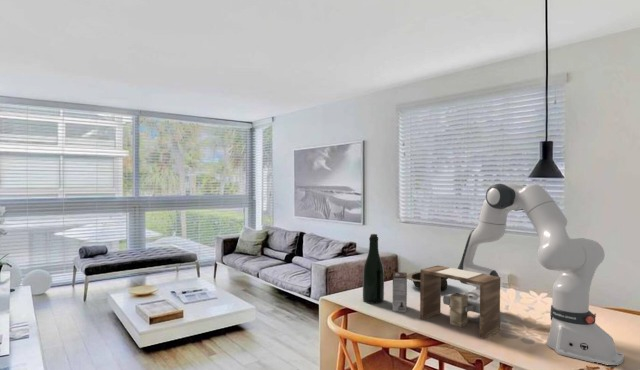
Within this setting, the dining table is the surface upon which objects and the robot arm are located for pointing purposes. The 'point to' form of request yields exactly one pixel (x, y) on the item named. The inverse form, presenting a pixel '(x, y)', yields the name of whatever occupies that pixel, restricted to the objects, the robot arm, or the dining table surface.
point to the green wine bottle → (373, 274)
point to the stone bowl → (416, 280)
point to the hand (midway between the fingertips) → (457, 307)
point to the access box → (488, 283)
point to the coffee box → (399, 291)
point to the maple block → (458, 309)
